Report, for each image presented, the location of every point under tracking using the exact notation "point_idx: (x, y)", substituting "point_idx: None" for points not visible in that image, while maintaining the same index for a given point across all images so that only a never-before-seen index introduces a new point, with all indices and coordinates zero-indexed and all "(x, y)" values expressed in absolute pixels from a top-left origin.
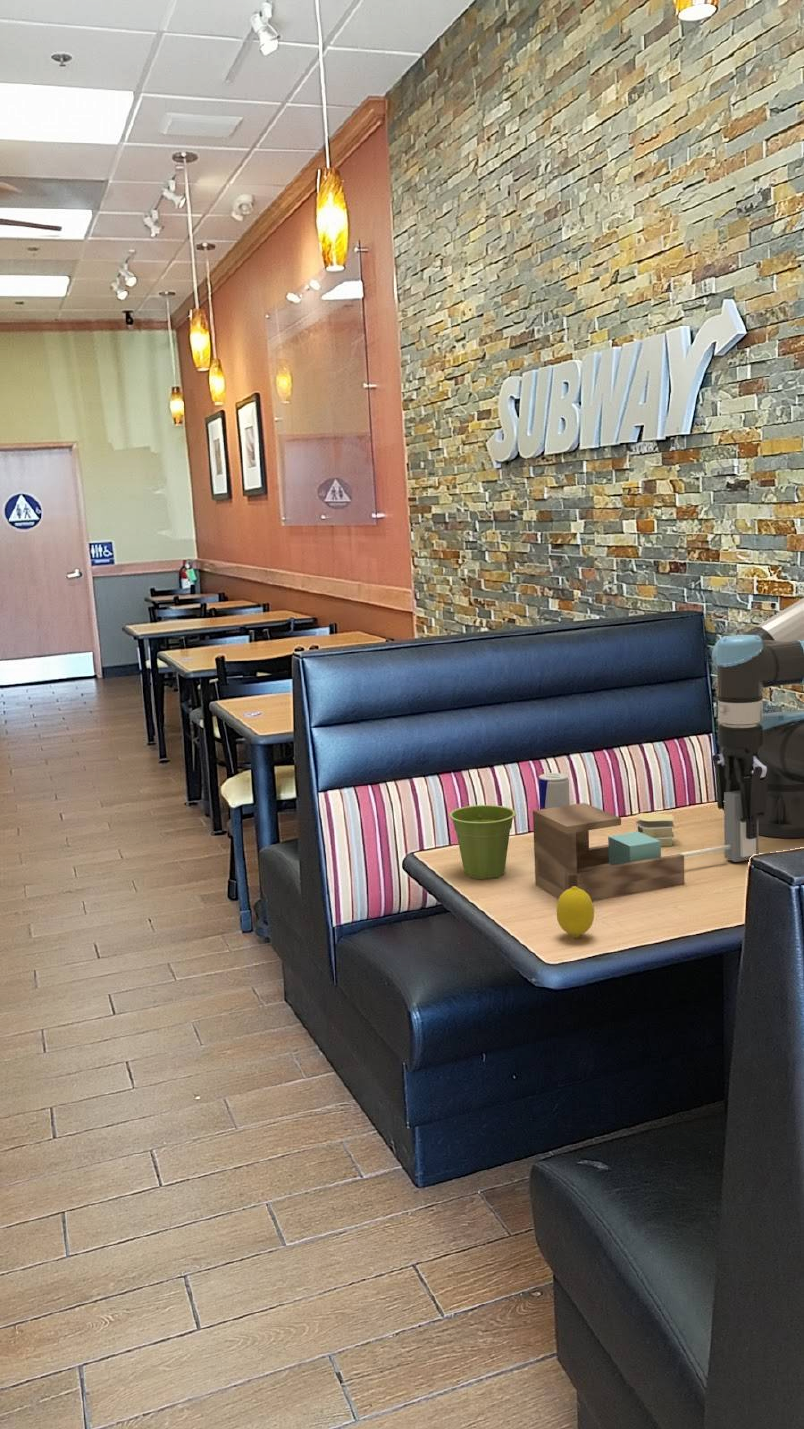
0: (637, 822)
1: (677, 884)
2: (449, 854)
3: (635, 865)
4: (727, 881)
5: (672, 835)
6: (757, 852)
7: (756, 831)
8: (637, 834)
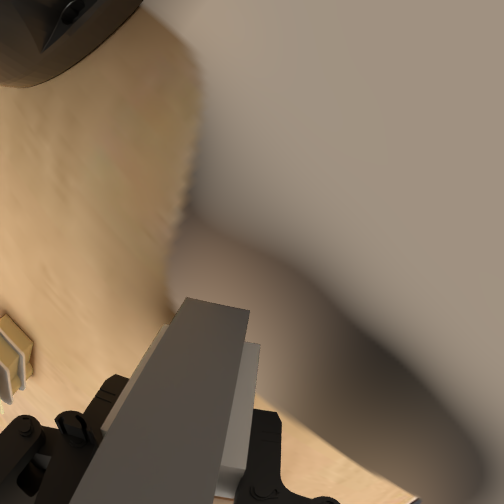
0: None
1: None
2: None
3: None
4: (316, 452)
5: (13, 348)
6: (246, 324)
7: (280, 439)
8: None
